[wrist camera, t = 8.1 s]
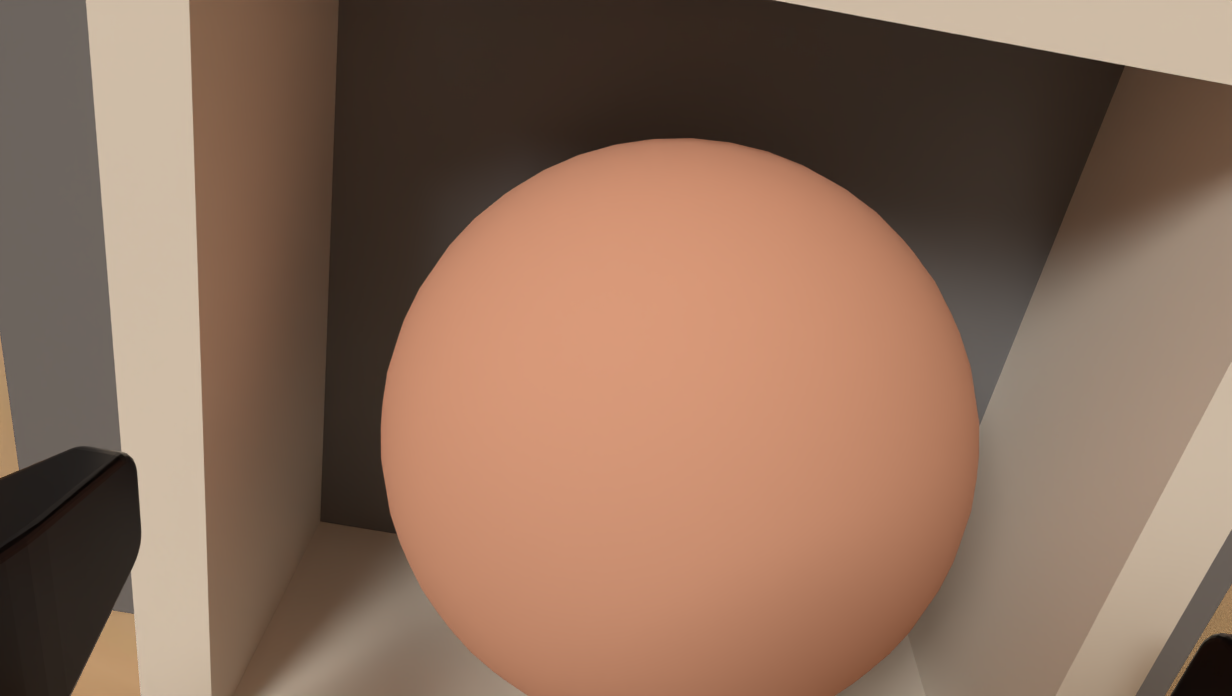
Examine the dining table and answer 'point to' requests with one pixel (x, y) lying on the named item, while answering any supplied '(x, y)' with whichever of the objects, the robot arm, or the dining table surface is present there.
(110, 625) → the dining table surface
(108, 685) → the dining table surface
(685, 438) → the terracotta ball
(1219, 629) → the dining table surface
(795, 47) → the tray on grey plate
